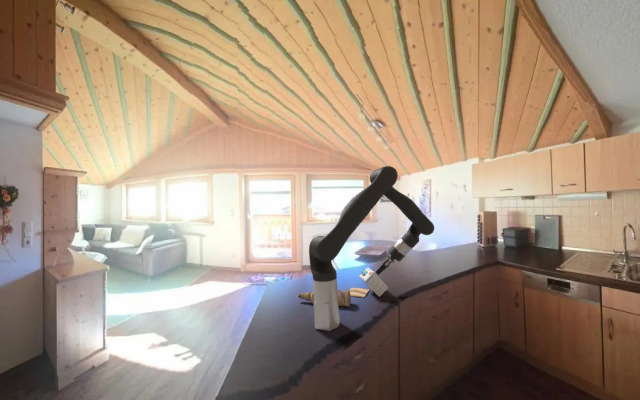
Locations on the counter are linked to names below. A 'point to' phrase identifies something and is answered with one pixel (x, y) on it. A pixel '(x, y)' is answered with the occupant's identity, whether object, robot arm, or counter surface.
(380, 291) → the light bulb box
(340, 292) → the decorative bottle
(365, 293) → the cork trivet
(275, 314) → the counter surface
